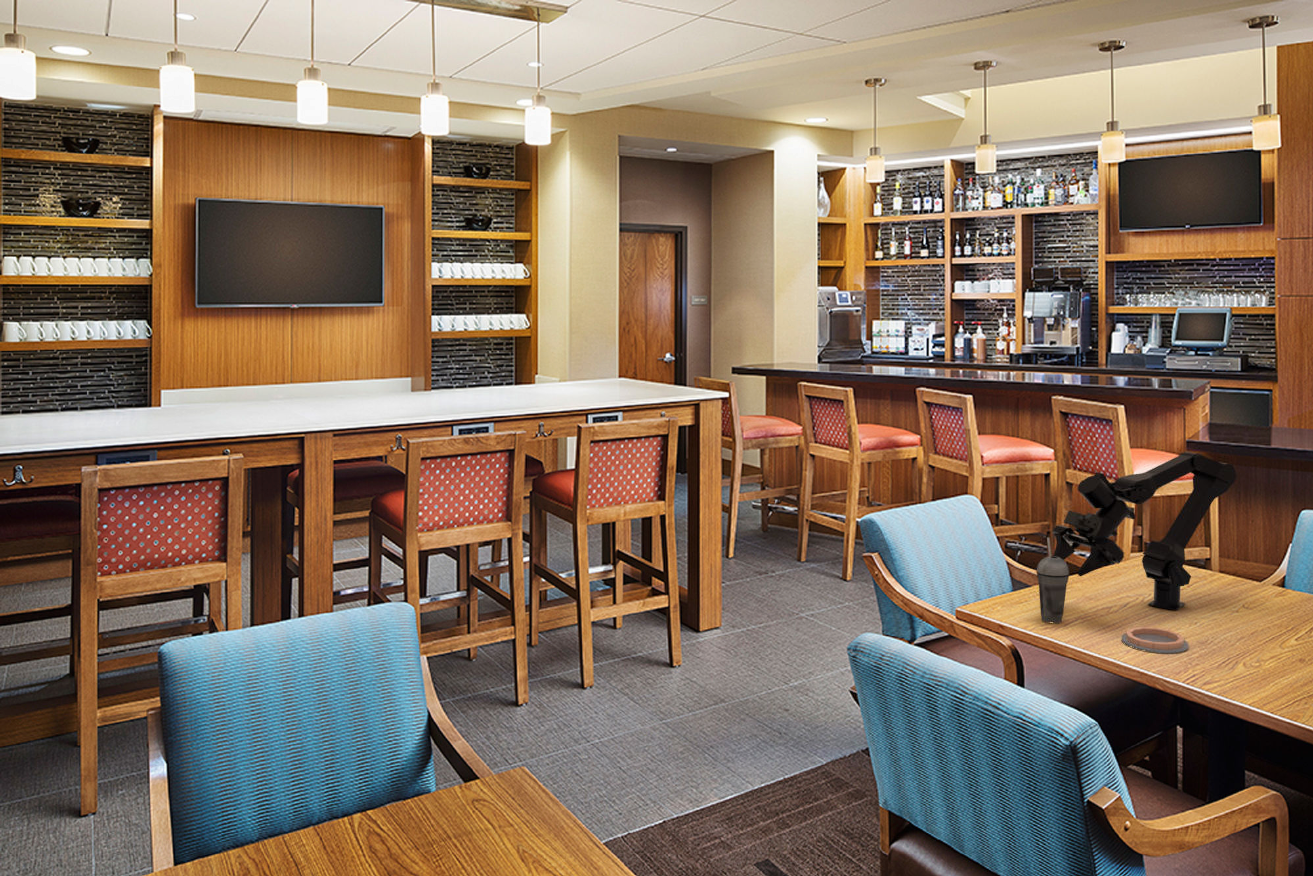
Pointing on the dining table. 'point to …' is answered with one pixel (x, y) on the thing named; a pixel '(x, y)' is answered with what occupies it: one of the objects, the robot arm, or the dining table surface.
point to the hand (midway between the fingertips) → (1065, 570)
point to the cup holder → (1155, 640)
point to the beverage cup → (1052, 587)
